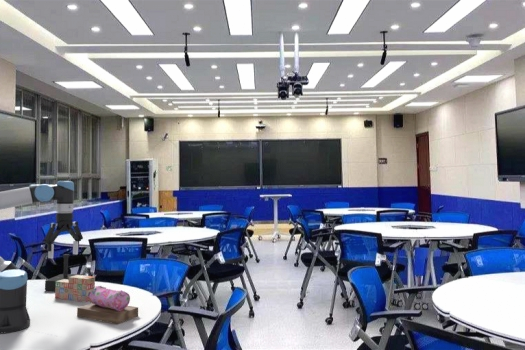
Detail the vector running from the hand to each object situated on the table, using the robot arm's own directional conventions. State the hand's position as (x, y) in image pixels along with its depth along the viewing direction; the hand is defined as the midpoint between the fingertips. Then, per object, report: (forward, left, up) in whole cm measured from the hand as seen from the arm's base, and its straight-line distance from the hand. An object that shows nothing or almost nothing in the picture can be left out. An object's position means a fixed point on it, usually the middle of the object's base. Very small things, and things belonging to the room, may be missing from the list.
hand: (63, 256), depth 191 cm
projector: (+35, +41, -27) cm, 60 cm away
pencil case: (+5, -25, -23) cm, 34 cm away
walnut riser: (+5, -25, -27) cm, 37 cm away
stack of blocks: (+20, +15, -27) cm, 37 cm away
